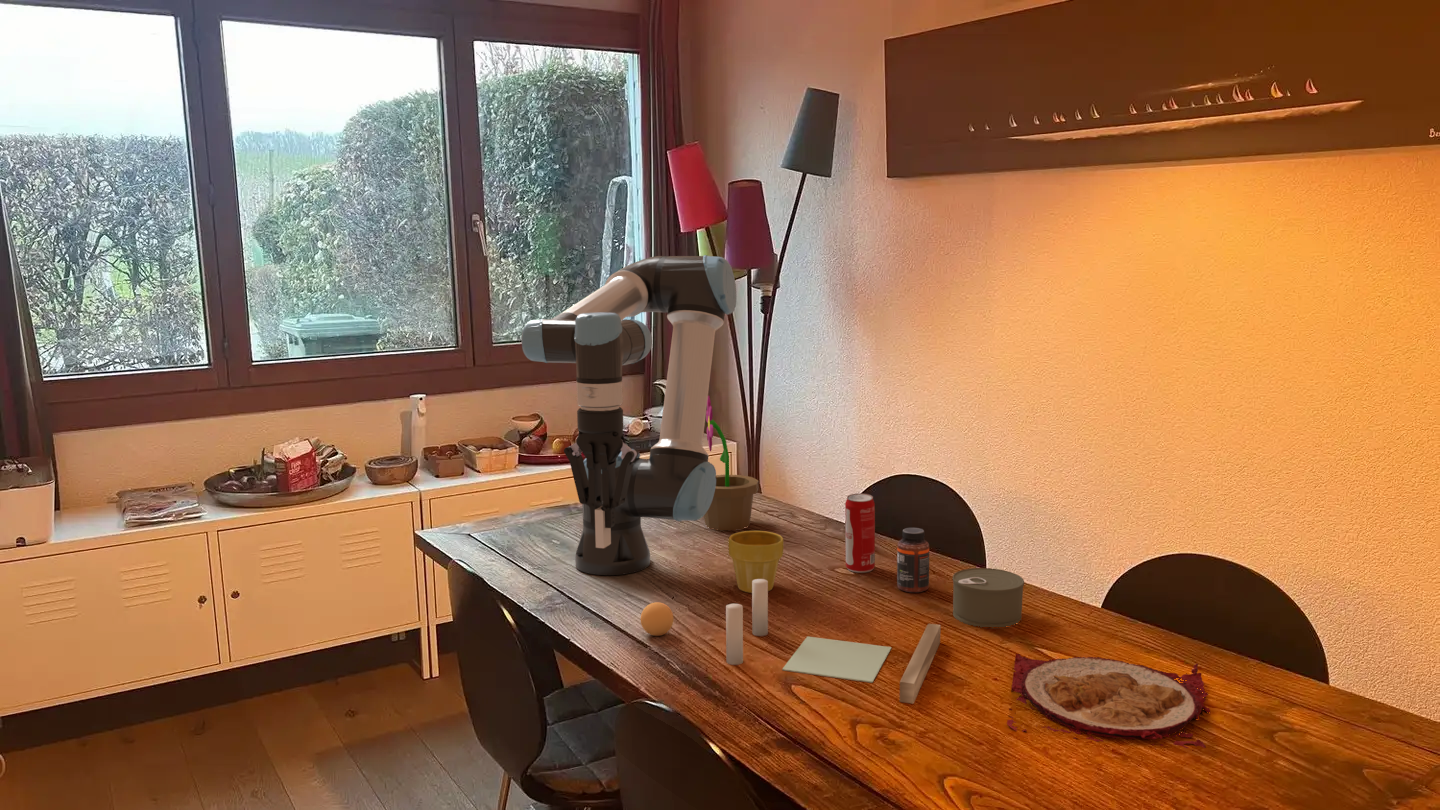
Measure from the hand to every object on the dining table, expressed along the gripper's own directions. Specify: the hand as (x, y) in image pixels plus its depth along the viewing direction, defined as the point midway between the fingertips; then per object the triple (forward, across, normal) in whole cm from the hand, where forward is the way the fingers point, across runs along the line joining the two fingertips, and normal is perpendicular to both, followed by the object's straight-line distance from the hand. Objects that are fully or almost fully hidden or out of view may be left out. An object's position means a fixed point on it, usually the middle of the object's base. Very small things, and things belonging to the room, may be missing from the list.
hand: (603, 545), depth 177 cm
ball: (+12, +10, 0) cm, 15 cm away
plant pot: (+15, +18, +28) cm, 36 cm away
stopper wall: (+15, +54, 0) cm, 55 cm away
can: (+15, +60, +27) cm, 68 cm away
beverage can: (+14, +34, +45) cm, 58 cm away
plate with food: (+16, +80, -3) cm, 82 cm away
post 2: (+15, +26, +7) cm, 30 cm away
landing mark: (+15, +40, 0) cm, 43 cm away
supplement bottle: (+15, +46, +37) cm, 61 cm away
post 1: (+15, +26, -6) cm, 30 cm away
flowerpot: (+14, -2, +67) cm, 69 cm away
